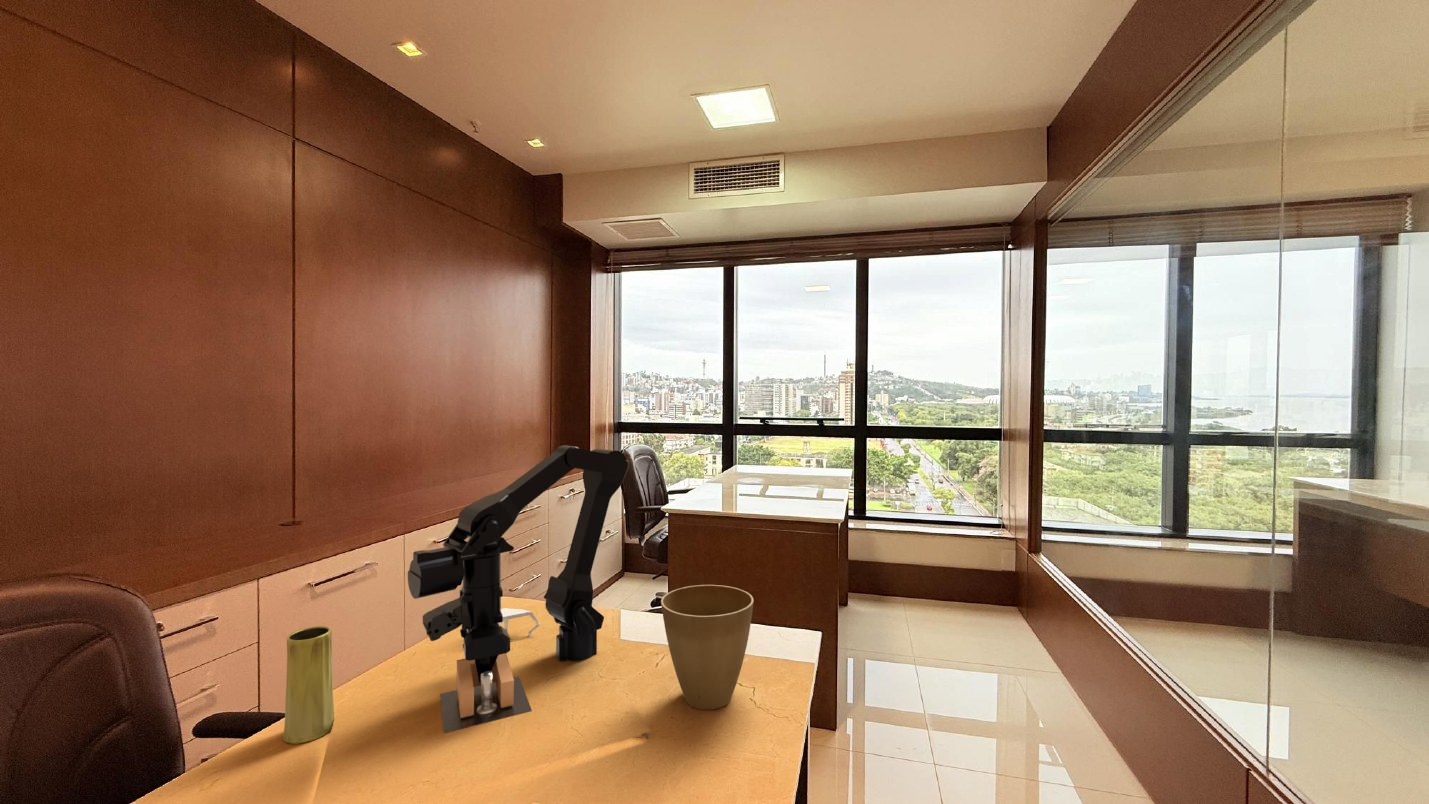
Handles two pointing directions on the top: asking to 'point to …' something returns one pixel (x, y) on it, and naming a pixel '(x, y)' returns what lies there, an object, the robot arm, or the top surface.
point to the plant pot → (707, 640)
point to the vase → (309, 685)
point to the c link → (469, 680)
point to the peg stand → (482, 705)
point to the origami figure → (515, 614)
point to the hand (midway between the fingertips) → (482, 678)
